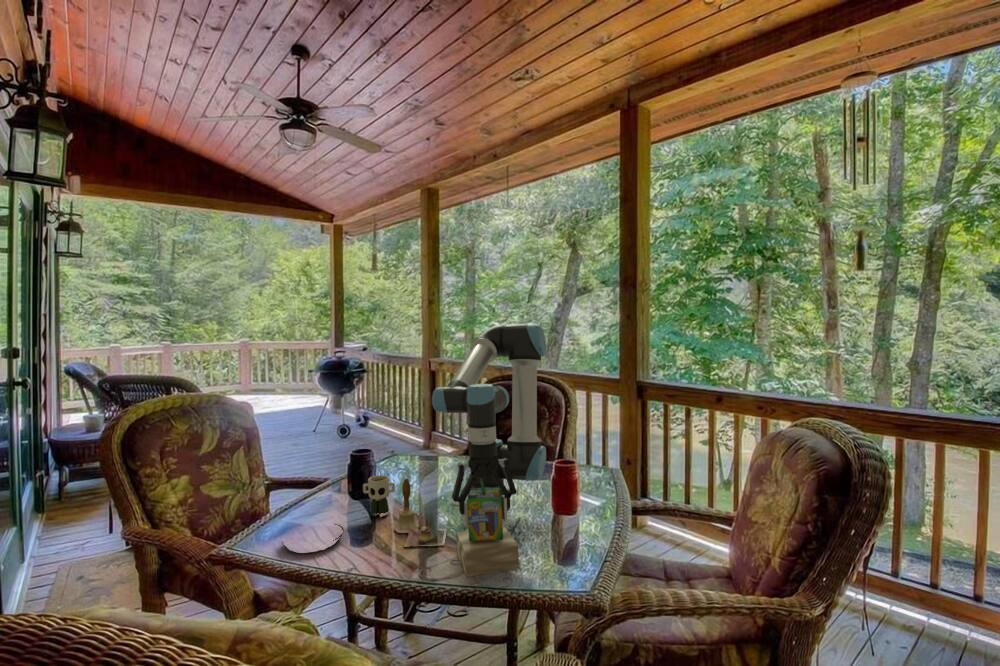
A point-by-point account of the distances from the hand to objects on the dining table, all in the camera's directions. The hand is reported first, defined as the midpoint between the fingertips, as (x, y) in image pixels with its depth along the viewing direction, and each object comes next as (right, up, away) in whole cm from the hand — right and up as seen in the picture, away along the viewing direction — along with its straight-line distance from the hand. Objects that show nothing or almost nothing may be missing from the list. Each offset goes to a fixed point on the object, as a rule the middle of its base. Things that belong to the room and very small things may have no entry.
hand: (485, 523), depth 138 cm
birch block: (0, -10, 0) cm, 10 cm away
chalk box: (0, -3, 0) cm, 3 cm away
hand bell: (-26, -11, +24) cm, 37 cm away
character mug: (-37, -11, +37) cm, 53 cm away
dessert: (-18, -11, +16) cm, 27 cm away
